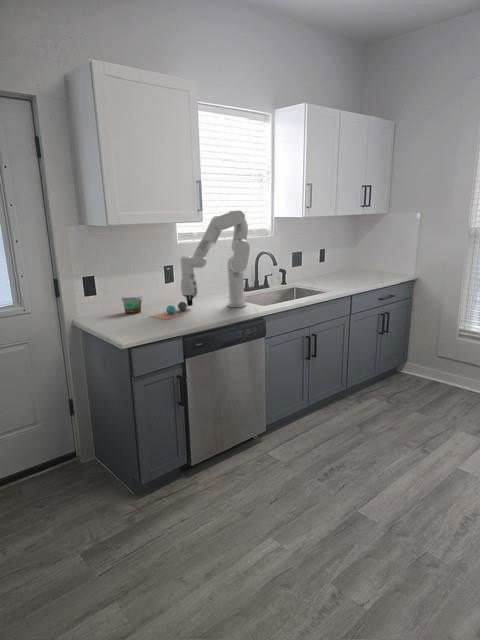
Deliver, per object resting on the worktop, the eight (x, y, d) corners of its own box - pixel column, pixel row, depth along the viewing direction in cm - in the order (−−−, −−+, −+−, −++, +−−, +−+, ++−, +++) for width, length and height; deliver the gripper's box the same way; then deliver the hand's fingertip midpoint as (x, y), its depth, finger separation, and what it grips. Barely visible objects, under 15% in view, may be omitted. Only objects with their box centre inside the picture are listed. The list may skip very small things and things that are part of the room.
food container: (120, 315, 258) (119, 298, 255) (123, 312, 264) (121, 296, 261) (141, 314, 258) (140, 298, 256) (143, 312, 264) (142, 296, 261)
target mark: (166, 311, 264) (166, 311, 264) (183, 314, 256) (183, 314, 256) (149, 316, 253) (149, 316, 252) (167, 319, 245) (167, 319, 245)
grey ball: (176, 301, 265) (175, 309, 265) (182, 301, 261) (181, 310, 261) (183, 302, 269) (182, 310, 269) (189, 302, 266) (188, 311, 266)
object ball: (169, 303, 258) (163, 307, 255) (175, 304, 255) (169, 308, 252) (171, 310, 261) (165, 315, 258) (178, 311, 258) (172, 316, 254)
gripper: (201, 276, 264) (203, 305, 268) (183, 274, 272) (185, 303, 277) (193, 278, 258) (195, 308, 262) (174, 276, 266) (177, 305, 271)
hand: (190, 305), depth 270 cm, fingers closed
